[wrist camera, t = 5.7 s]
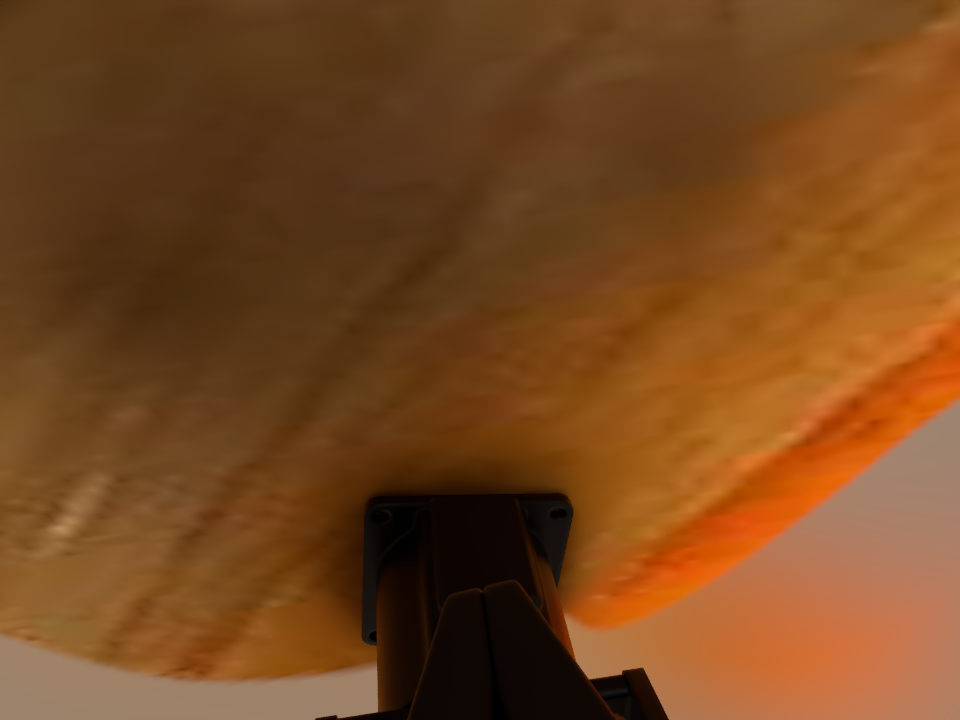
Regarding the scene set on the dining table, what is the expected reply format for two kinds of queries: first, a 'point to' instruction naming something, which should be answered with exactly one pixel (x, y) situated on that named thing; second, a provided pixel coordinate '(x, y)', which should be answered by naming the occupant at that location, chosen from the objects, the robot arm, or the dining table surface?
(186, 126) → the dining table surface
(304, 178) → the dining table surface
